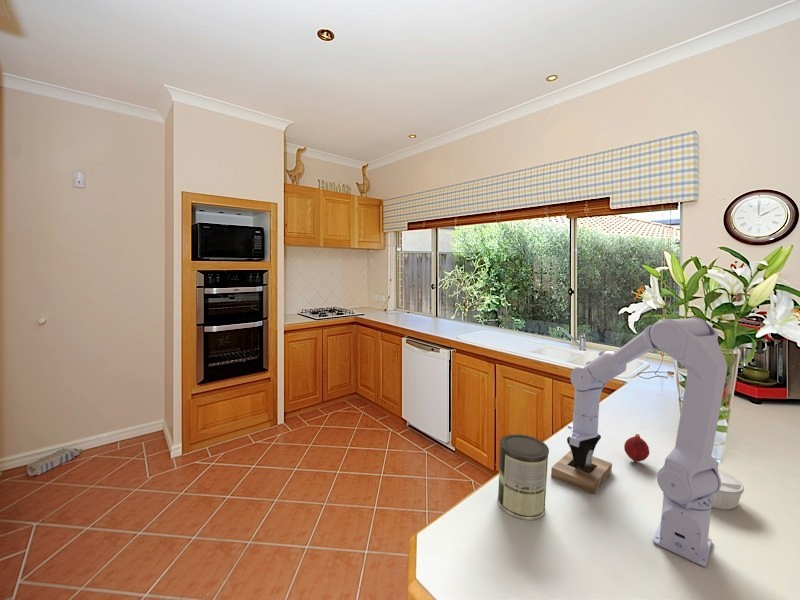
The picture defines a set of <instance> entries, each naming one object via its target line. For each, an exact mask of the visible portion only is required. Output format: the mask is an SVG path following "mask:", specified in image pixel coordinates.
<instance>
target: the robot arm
mask: <svg viewBox="0 0 800 600" xmlns="http://www.w3.org/2000/svg"><path fill="white" fill-rule="evenodd" d="M718 337H719V332H718V331H717V330H716V329H715V328H714V327H713V326H712V325H711V324H710V323H708V322H707V321H706V320H704V319H703V318H699V317H688V318H687V317H686V318H676V319H673V318H661V319H659V320H657V321H656V322H654V323H653V324H650V325H649V326H646V327H645V328H644V330H643V331H642V332H640V333H639V334H637V335H636V336H635V337H633V338H632V339H631V340H629V341H628V342H627V343H626V344H624V345H623V346H621V347H619V349H617V350H616V351H613V350H602V351H600V352H598V357H596V358H595V359H593V360H590V361H586V363H585V365H584V367H582V366H577V367H576V366H575V367H574V368H573V370H572V371H571V372H570V377H569V378H570V382H571V384H572V386H573V388H574V397H573V398H574V399H573V410H572V411H573V414H572V423H569V424H568V425H567V428H568V429H569V430H571V433H570V434H571V435H570V436H568V437H567V438H566V442H567V444H568V445H569V449H570V451H572V455H573V460H574V465H575V466H577V467H579V468H582V469H583V468H584V466H585V463H586V459H587V455H588V453H589V450H590V449H592V450H593V454H594V451H595V448H596V446H597V444H598V443H599V442H600V440H601V438H602V436H601V435H600V434H599V416H600V415H599V413H600V401H601V395H602V392H603V389H604V388H605V387H606V386H607V383H608V382H609V381H611V380H613V379H615V378H616V377H618V376H619V375H622V374H623V373H625V372H626V370H627V365H628V363H631V362H633V361H634V360H636V359H638V358H640V357H642V356H644V355H646V354H648V353H650V352H651V351H653V350H655V349H659V350H660V351H661V352H663V353H664V354H666V355H668V356H669V357H670V358H672V359H674V360H676V361H677V362H678V363H679V364H681V365H682V366H683V368H684V369H686V371H687V373H686V379H685V384H684V390H683V398H682V403H681V409H680V415H679V420H678V421H679V422H678V428H677V431H676V440H675V445H674V448H673V449H672V450H671V451H670V452H669V454H668V455H667V456H666V458H665V459H664V460H665V461H664V464H663V466H662V467H660V469H659V470H658V471H657V474H656V479H657V483H658V486H659V488H660V490H661V491H662V495H663V497H662V500H663V501H662V509H661V518H660V523H659V525H658V527H657V530H656V532H655V534H654V535H653V539H652V543H654V544H655V545H657V546H659V547H662V548H663V549H666V550H668V551H670V552H672V553H674V554H676V555H679V556H680V557H683V558H685V559H687V560H689V561H691V562H693V563H695V564H697V565H700V566H702V567H704V568H705V567H707V566H708V561H709V556H710V552H711V548H712V543H713V541H712V540H713V539H712V538H710V537H709V535H710V534H709V532H710V526H711V525H710V524H711V513H712V507H711V506H712V494H714V493H716V492H718V491H719V490H720V488H721V479H720V476H719V473H718V469H719V464H720V463H719V462H718V460H716V459H715V458H714V457H713V456H712V455H713V450H714V444H715V440H716V439H715V438H716V433H717V428H718V423H719V417H720V411H721V407H722V406H721V405H722V401H723V395H724V389H725V386H726V384H725V383H726V378H727V373H728V363H727V360H726V358H725V356H724V353H723V351H722V349H721V346H720V344H719V341H718ZM593 454H592V456H593Z"/></svg>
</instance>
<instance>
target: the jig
mask: <svg viewBox="0 0 800 600" xmlns="http://www.w3.org/2000/svg"><path fill="white" fill-rule="evenodd" d="M612 468H613V463H612V462H611V461H607V460H604V459H601V458H598V457H597V456H593V455H592V466H591V474H589V473H586V472H584V471H581V470H579V469H576V468H574V460H573V455H572V451H571V450H569V451H568V452H567V453H566V454H565V455H564V456H563V457H562V458H560V459H559V460H558V461H557V462H556V463H555V464H553V465H552V467H551V473H550V477H552V478H554V479H556V480H557V481H558V480H559V481H561V482H563V483H565V484H568V485H569V486H571V487H573V488H577V489H579V490H580V491H583V492H586V493H588V494H590V495H592V496H593V495H595V494H596V492H597V491H598V490H599V489H600V487H601V486H602V485H603V484H604V482H605V481H606V480H607V479H608V477H609V476H610V475H611V473H612Z"/></svg>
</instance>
